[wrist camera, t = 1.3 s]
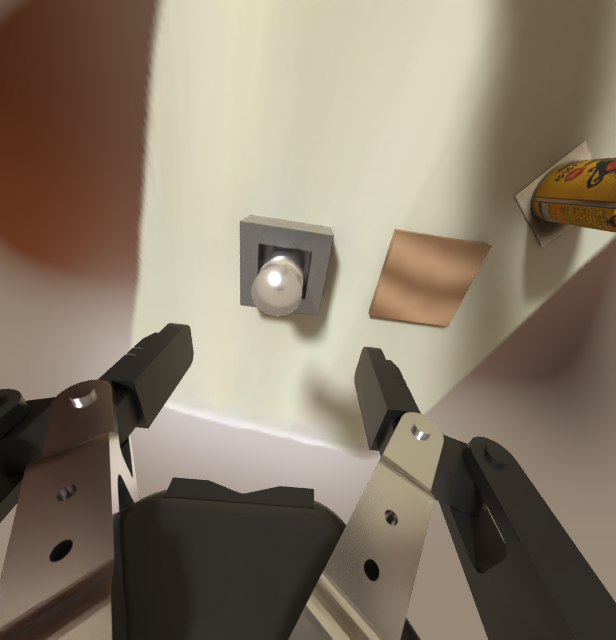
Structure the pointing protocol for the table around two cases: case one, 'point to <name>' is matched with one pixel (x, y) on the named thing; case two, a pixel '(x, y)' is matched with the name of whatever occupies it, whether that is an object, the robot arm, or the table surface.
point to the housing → (270, 233)
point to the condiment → (571, 196)
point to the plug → (279, 282)
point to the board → (426, 277)
